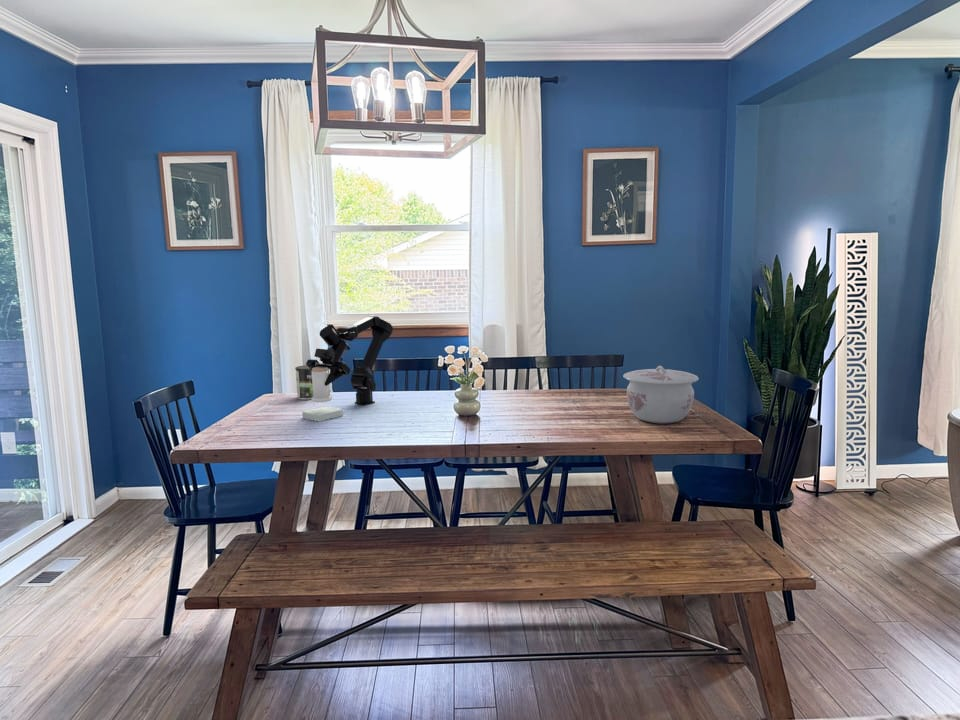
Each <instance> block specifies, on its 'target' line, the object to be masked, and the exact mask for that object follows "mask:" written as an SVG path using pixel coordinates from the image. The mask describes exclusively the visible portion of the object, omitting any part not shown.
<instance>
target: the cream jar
mask: <svg viewBox="0 0 960 720" xmlns="http://www.w3.org/2000/svg"><path fill="white" fill-rule="evenodd" d="M329 373H330V369H328V367H314V368H312V386H313V397H312V399H311V401H312V403H326V402H327V403H328V402H331V401H332V395H331V383H330V384H329V385H327V386H325V382H326V379H327V377H328V375H329Z"/></svg>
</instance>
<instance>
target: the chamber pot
mask: <svg viewBox="0 0 960 720" xmlns="http://www.w3.org/2000/svg"><path fill="white" fill-rule="evenodd" d="M622 376H623V378H624V379H625V380H628V381H629V383H628V385H627V387H626V397H627V403H628V406H629V408H630V410H631V412H632V413H633V415H634V416H635V417H636V418H637V419H639V420H642V421H643V422H646V423H651V424H660V425H666V424H667V425H668V424H673V423H677V422H680V421H682V420H683V419H684V418H685V417H686V416H687V415H688V414H689V412H690V410H691V409H692V407H693V403H694V399H695V389H694V388H693V386H692V384H693V383H696V382H697V381H699V377H698V375H696V374H693V373H690V372H687V371H683V370H675V369H668V368H667V369H665V368H664V367H663V366H662V365H658V366H657V367H656V368H647V369H646V368H645V369H637V370H632V371H628V372H625V373H624V374H623V375H622Z"/></svg>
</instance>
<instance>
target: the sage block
mask: <svg viewBox="0 0 960 720" xmlns="http://www.w3.org/2000/svg"><path fill="white" fill-rule="evenodd" d="M301 413H302V414H301V415H302V419H305V418H306V419H305V420H309V419H310V421H313V420H314V421H313V422H316V421H319V422H322V421H321V420H323V421H327V420H331V419H330V418H332V419H335V417H336V418H339V416H340V417H343V416H344V409H341V408H338V407H337V408H336V407H333V406H327V405H326V406H323V407H317V408H314V409H309V410H304V411H302V412H301ZM326 419H327V420H326Z"/></svg>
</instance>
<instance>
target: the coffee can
mask: <svg viewBox="0 0 960 720" xmlns="http://www.w3.org/2000/svg"><path fill="white" fill-rule="evenodd" d="M294 368H295V377H296V378H295V379H296V381H295V382H296V392H297V393H296V395H297V397H296V398H297V400H303V401H305V400H308V401H310V400H312V397H313V386H312V384H311V379H312V370H311V369H310V368H309V367H308V366H307V365H306V364H305V365H299V366H295V367H294Z"/></svg>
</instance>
